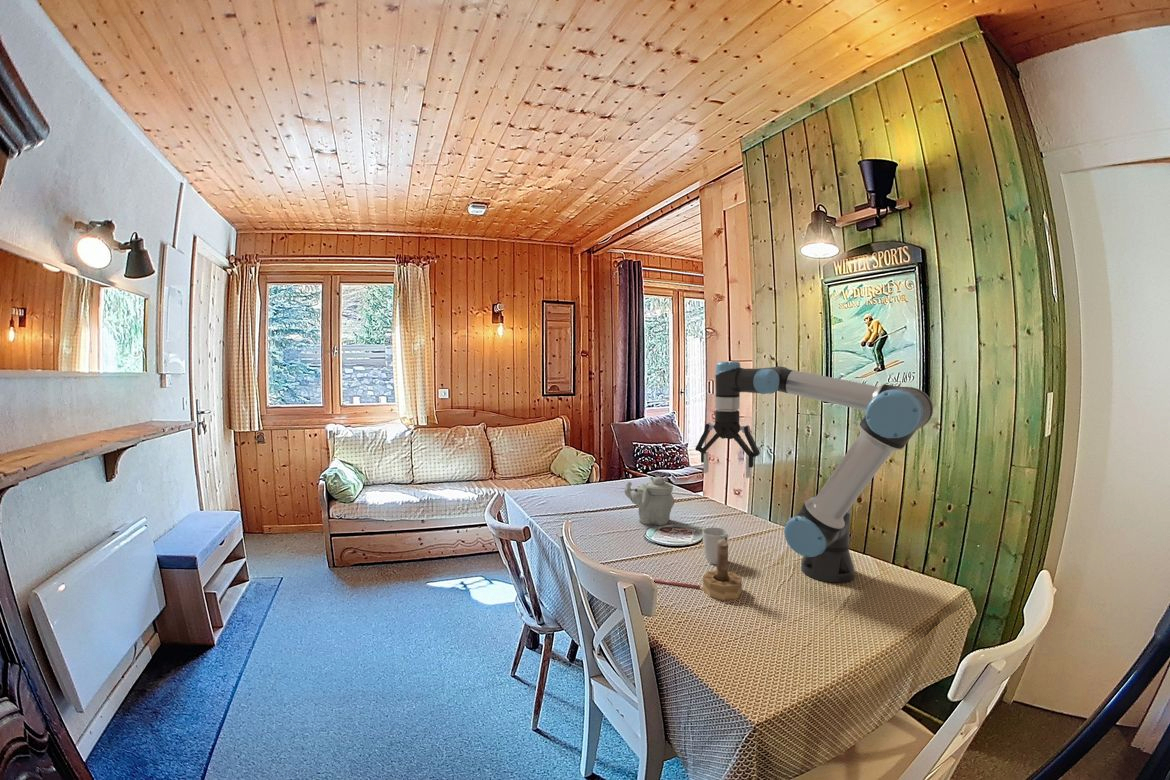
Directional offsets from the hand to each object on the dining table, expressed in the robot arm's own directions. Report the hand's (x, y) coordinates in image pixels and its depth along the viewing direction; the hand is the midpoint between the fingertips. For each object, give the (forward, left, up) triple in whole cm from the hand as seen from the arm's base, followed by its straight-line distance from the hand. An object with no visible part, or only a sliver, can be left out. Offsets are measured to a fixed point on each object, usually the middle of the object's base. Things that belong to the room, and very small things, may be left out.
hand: (726, 474), depth 172 cm
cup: (+3, +2, -29) cm, 29 cm away
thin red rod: (+8, +25, -29) cm, 39 cm away
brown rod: (-5, +22, -29) cm, 37 cm away
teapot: (+38, -24, -29) cm, 53 cm away
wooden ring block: (-5, +22, -29) cm, 37 cm away
